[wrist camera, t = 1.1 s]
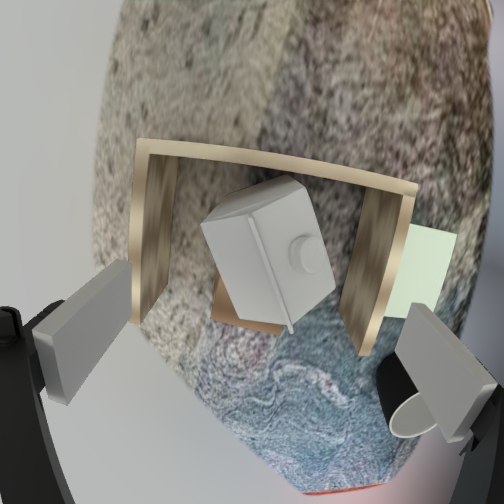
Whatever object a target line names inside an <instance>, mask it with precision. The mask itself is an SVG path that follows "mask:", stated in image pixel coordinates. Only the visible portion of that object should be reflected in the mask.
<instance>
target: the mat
mask: <svg viewBox="0 0 504 504" xmlns="http://www.w3.org/2000/svg"><path fill="white" fill-rule="evenodd" d="M456 237H457V234H455V233H451V232H447V231H443V230H439V229H434V228H430V227H426V226H421V225H417V224H412V223H410V225H409V229H408V233H407V237H406V241H405V245H404V249H403V253H402V257H401V260H400V264H399V268H398V271H397V275H396V278H395V282H394V285H393V288H392V291H391V295H390V298H389V301H388V304H387V307H386V310H385V313H384V316H388V317H399V318H407V315H408V312H409V309H410V306H411V303H412V302H415V303H424V304H425V305H426V306H427V307H428V308H429V309H430V310H431V311H432V312H433V311H434V308H435V305H436V303H437V300H438V297H439V294H440V291H441V288H442V285H443V282H444V279H445V276H446V272H447V269H448V266H449V262H450V259H451V256H452V252H453V248H454V245H455V241H456Z"/></svg>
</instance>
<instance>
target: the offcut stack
mask: <svg viewBox="0 0 504 504" xmlns="http://www.w3.org/2000/svg"><path fill="white" fill-rule="evenodd" d="M213 302H214V304H213V308H212V312H211V317H210V319H211V320H215V321H219V322H223V323H227V324H231V325H235V326H239V327H244V328H248V329H252V330H256V331H261V332H265V333H270V334H274V335H279V336H280V334H281V332H282V329H283V326H284V325H282V324H274V323H267V322H259V321H252V320H245V319H240V318H239V317H238V315H237V313H236V310H235V308H234V306H233V303H232V301H231V299H230V296H229V294H228V292H227V289H226V287H225V285H224V282H223V280H222V277H221V275H220V273H219V270H218V268H216V276H215V285H214V294H213ZM296 322H297V321H296Z"/></svg>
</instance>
